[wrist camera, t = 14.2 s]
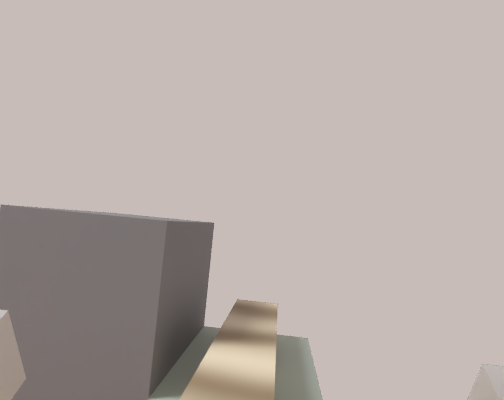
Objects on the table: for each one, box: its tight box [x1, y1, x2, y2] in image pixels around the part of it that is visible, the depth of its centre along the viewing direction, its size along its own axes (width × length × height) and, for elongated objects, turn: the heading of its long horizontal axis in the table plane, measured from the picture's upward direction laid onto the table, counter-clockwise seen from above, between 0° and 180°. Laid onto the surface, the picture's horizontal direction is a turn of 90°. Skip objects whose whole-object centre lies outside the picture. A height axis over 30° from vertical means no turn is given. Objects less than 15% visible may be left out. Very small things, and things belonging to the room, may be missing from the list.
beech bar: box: [179, 299, 278, 400], centre depth 21 cm, size 22×3×2 cm, turn 176°
